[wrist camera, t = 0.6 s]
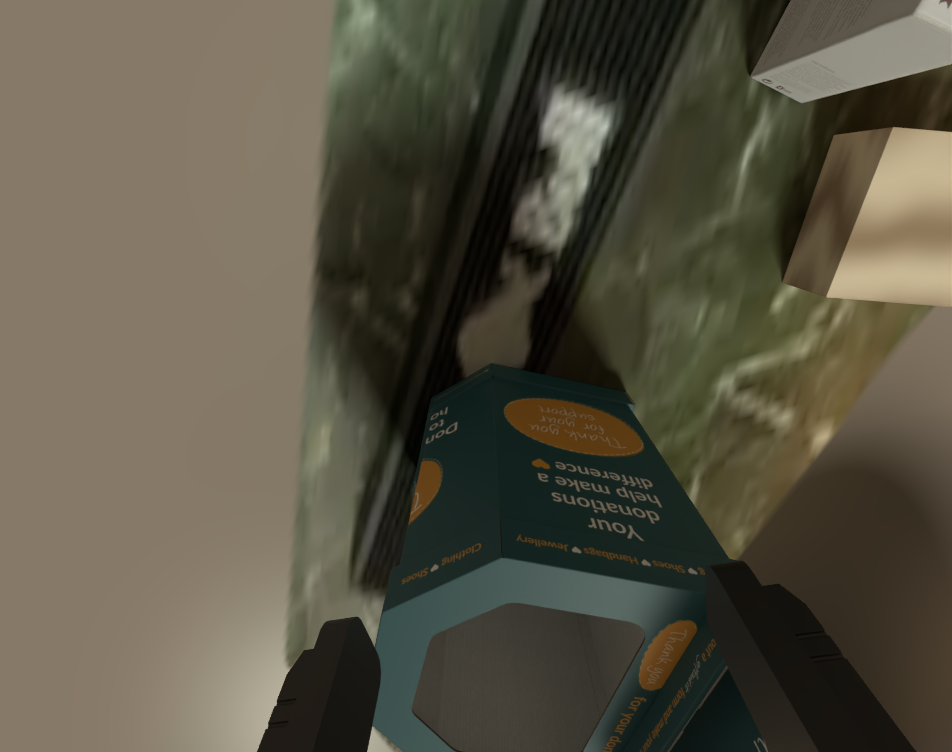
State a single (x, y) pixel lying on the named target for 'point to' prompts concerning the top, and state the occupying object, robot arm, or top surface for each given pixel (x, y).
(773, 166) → the top surface
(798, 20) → the skincare box
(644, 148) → the top surface
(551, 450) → the donation box
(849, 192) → the birch block
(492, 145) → the top surface
